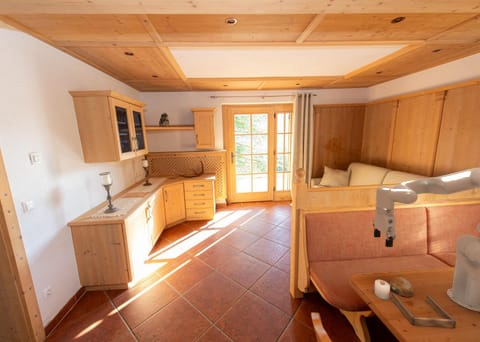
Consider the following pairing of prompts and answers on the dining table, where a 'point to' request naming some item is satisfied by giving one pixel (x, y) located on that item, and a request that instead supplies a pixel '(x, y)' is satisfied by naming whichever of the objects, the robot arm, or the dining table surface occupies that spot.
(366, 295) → the dining table surface
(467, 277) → the robot arm
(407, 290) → the bread roll
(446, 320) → the open rail frame
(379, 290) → the pot
